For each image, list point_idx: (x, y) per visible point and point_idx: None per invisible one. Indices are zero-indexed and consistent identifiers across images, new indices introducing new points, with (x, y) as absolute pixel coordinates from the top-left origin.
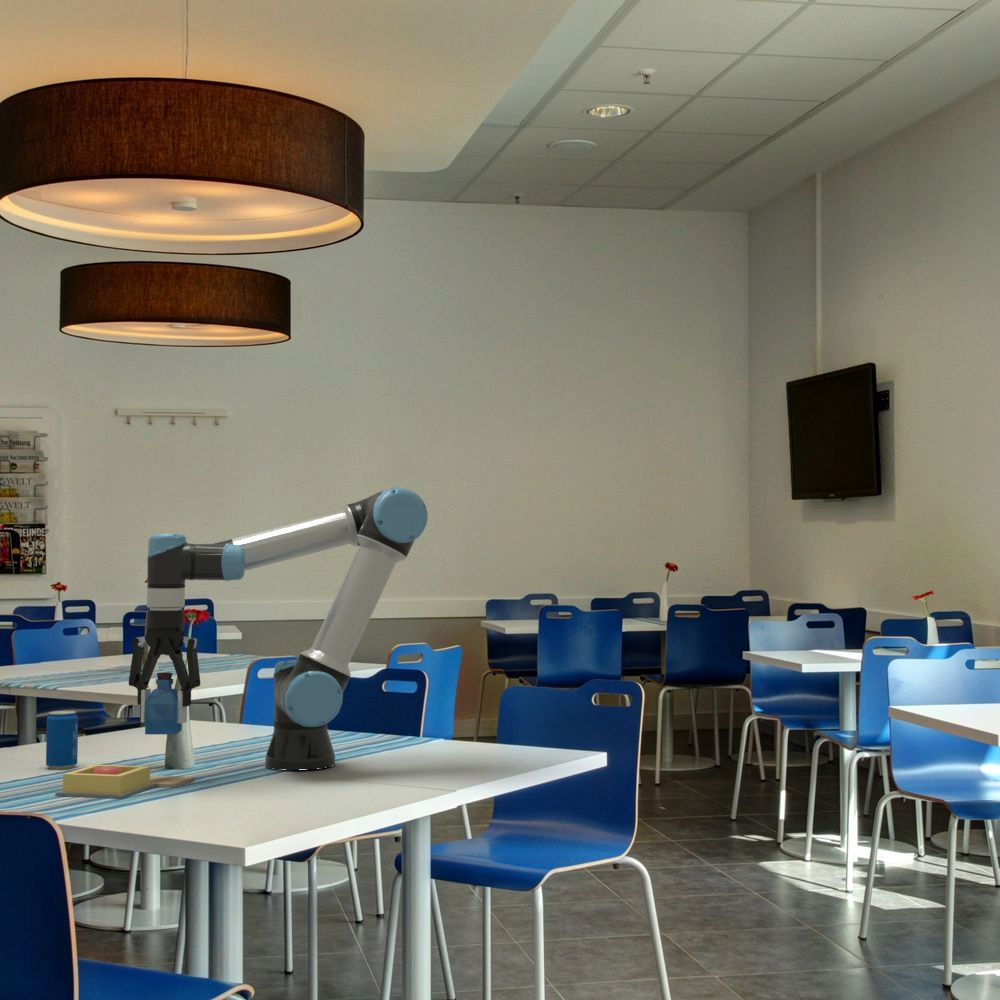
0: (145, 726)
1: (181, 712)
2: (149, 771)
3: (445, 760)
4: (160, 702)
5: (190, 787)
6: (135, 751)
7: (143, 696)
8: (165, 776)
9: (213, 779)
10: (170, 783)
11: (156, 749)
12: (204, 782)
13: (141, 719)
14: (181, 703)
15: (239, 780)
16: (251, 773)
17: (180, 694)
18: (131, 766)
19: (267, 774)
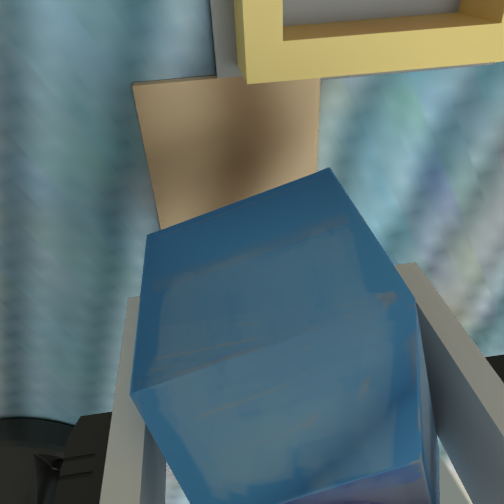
0: (342, 191)
1: (121, 359)
2: (244, 74)
3: None
4: (278, 353)
5: (69, 103)
6: None
7: (497, 409)
8: None
9: (108, 266)
10: (158, 98)
11: (462, 488)
12: (96, 212)
13: (418, 273)
14: (114, 421)
15: (10, 278)
16: (70, 372)
17: (108, 499)
18: (335, 58)
19: (12, 375)
